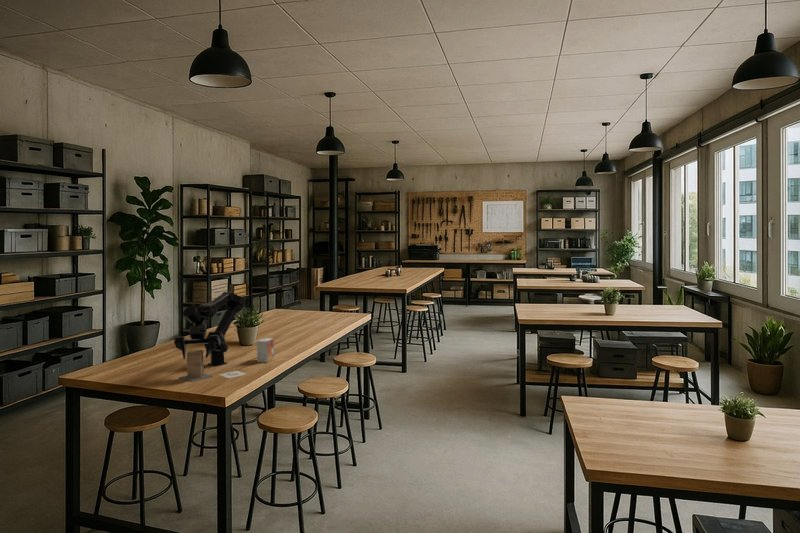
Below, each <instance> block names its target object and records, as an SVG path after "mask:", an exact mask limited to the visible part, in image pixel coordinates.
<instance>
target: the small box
mask: <svg viewBox="0 0 800 533" xmlns="http://www.w3.org/2000/svg"><path fill="white" fill-rule="evenodd" d="M256 355H257V356H256V359H257V360H256V361H257V362H258V363H269V362H272V361H273V360H275V339H274V338H273V337H272V338H270V337H269V338H267V337H264V338H262V339H260V340H257V341H256ZM272 359H273V360H272Z"/></svg>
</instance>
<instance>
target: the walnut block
mask: <svg viewBox="0 0 800 533" xmlns="http://www.w3.org/2000/svg"><path fill="white" fill-rule="evenodd" d="M204 364H205V363H204V350H203V349H198V350H197V349H193V350H191V349H190V350H189V351H188V352H186V371H187V376H188V378H201V377H202V376H203V375H204V373H205V372H204V371H205V369H204V368H205V366H204Z"/></svg>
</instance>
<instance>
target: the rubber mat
mask: <svg viewBox="0 0 800 533" xmlns="http://www.w3.org/2000/svg"><path fill="white" fill-rule="evenodd" d="M212 377H214V376H213V375H212V374H207V373H205V372H204V375H203V376H202V377H201V378H188V376H187V375H186V374H185V375H182V376H179V377H178V379H180V380H183V381H189V382H191V383H193V382H197V381H201V380H204V379H209V378H212Z"/></svg>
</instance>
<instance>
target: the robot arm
mask: <svg viewBox="0 0 800 533" xmlns="http://www.w3.org/2000/svg"><path fill="white" fill-rule="evenodd" d="M224 305H226V310H225V312H224V314H223V315H222V318H221V319H220V321H219V323H218V325H217V327H216V329H215V330H214V331H209V332H208V333H207V331H208V329H207V328H208V326H209V325H210V322H209V321H208V319H207V318H213V317H214V316H216V314H217V313H218V310H219V309H220V308H221V307H223V306H224ZM245 305H246V299H245V298H244V297H243V296H240V295H238V294H235V293H234V292H232V291H224V292H222V294H220V295H219V296H218V297H216V298H214V299H213V300H211V301H210V302H206V303H202V304H200V305H196V304H194V303H193V304H190V306H188V307H186V308H185V309H184V310H183V312H182V314H183V316H184V317H185V318H186V320H187V321H188V322H189V323H191V324H193V325H189V328H188V329H189V331H188V332H189V338H187V339H186V338H185V336H176V337H174V338H173V339H174V341H173V342H174V346H175V348H176V349H178V350H179V351H181V354H182V357H183V360H185V359H186V358H187V345H193V344H194V345H195V344H196V345H202V344H203V345H204V347H205V351H206V352H205V359H207V358H209V356H210V362H209V363H207V365H209V366H213V367H218V366H222V365H226V364H228V362H227V361H226V362H225V353H227V352H228V349H229V347H228V346H229V345H227V343H225V342H226V339H225V336H226V333H227V331H228V329H229V328H230V326H231V325H232V323H233V322H232V321H233V320H234V318H235V316H236V314H238V313H239V312H241V311H242V310H243V309H244V307H245ZM197 306H198V307H197Z"/></svg>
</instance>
